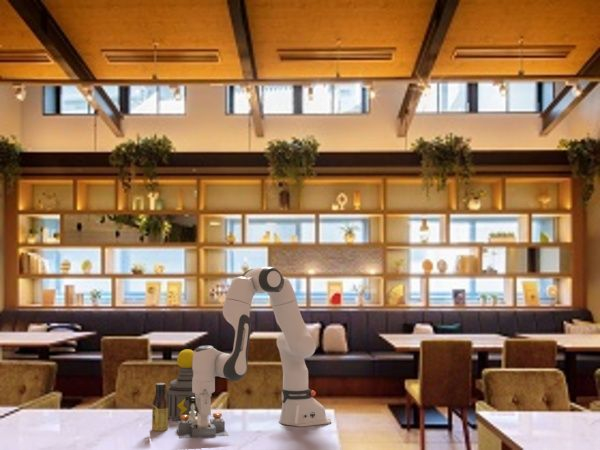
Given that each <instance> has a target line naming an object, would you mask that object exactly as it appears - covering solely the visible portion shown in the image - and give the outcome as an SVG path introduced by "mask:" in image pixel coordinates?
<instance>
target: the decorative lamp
mask: <svg viewBox="0 0 600 450" xmlns="http://www.w3.org/2000/svg"><path fill="white" fill-rule="evenodd" d="M194 351H195V350H192V349H189V348H188V349H186V348H185V349H183V350H181V351H180V352H179V354H178V355H177V357H176V359H177V360H176V361H177V364H178V366H179V372H178V374H177V375H178V376H177V378H176V379H173V380H171V381H170V382H169V383H168V384H169V387H168V388H167V390H166V391H165V395H166V397H167V399H168V420H171V419H172V420H171V421H177V420H178V421H182V419H180V416H181V415H189V412H191V406H192V404H191V403H189V401H188V399H187V400H186V399H185V397H189V396H195V393H193V392H192V379H193V369H192V365H193V354H194ZM194 406H195V409H194V410H195V412H196V415H195V416H197V413H199V410H198V408H197V406H196V403H194ZM178 421H177V422H178Z"/></svg>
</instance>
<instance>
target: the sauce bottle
mask: <svg viewBox="0 0 600 450" xmlns="http://www.w3.org/2000/svg"><path fill="white" fill-rule="evenodd" d="M166 387H167V384H166V383H165V382H157V383H155V395H154V399H153V401H152V404H151V405H152V409H151V410H152V411H151V412H152V414H151V416H152V417H151V418H152V419H151V420H152V421H151V430H152V431H154V432H164V431H167V430H168V429H169V428H168V427H169V418H168V399H167V397H166V395H165V394H166Z"/></svg>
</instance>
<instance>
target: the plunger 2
mask: <svg viewBox="0 0 600 450" xmlns="http://www.w3.org/2000/svg"><path fill="white" fill-rule="evenodd" d="M222 416H223V413H221V412H213V414H212V418H213V419H214V421H221V419H222Z"/></svg>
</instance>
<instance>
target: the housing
mask: <svg viewBox="0 0 600 450" xmlns="http://www.w3.org/2000/svg"><path fill="white" fill-rule="evenodd" d="M225 422H226V421H225V420H224V418H221V421H214V418H212V419H209V427H208V428H197V423H192V422H191V420H188V423H182V421H177V429H176V433H177V435H178V439H181V440H182V439H195V438H213V437H228V436H229V433H228V431H226V428H225V427H226V426H225Z"/></svg>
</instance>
